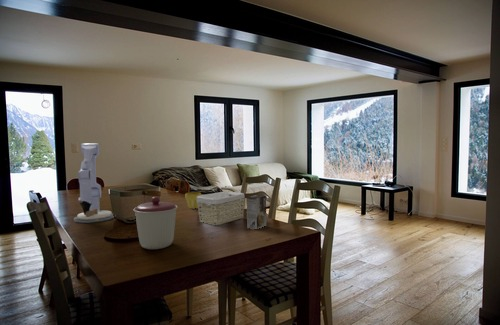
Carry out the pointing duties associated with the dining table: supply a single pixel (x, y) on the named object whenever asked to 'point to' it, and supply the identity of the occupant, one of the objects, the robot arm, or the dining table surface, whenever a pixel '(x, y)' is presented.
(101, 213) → the dial
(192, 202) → the plant pot
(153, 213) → the canister
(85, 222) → the base
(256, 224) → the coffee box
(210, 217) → the storage basket
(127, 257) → the dining table surface
